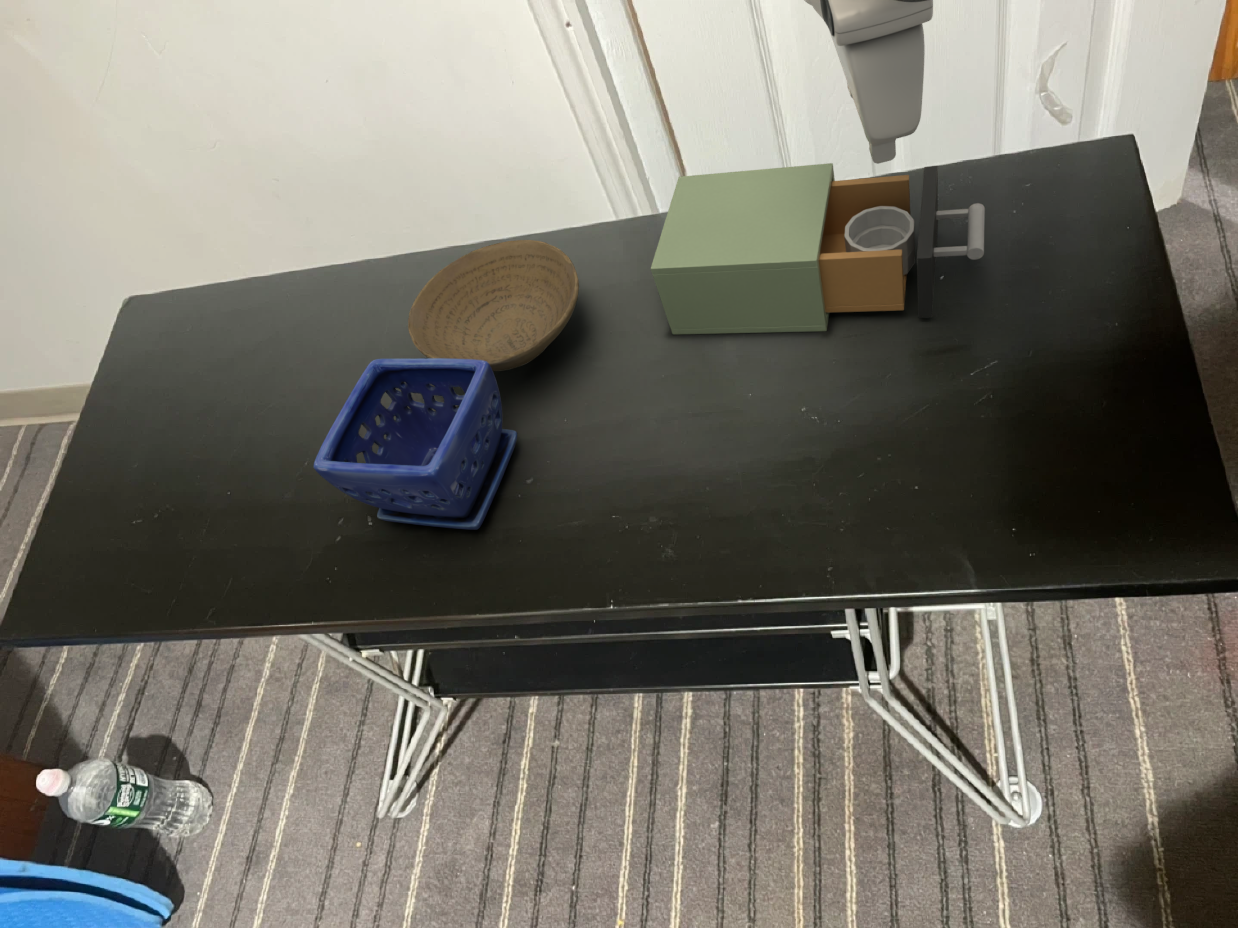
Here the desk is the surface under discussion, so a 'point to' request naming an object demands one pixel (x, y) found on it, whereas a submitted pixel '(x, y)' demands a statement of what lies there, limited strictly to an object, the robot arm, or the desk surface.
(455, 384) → the flower pot
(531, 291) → the bowl
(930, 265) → the drawer
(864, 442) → the desk surface
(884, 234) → the steel bowl
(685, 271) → the cabinet
